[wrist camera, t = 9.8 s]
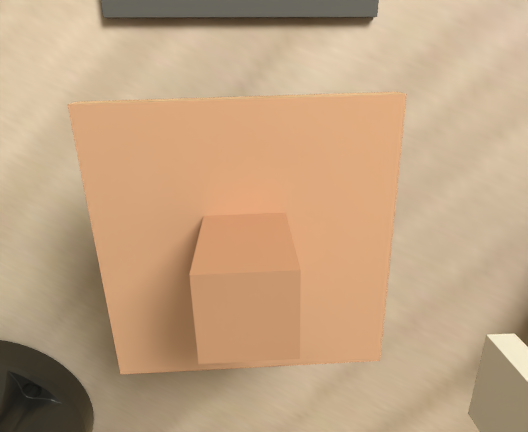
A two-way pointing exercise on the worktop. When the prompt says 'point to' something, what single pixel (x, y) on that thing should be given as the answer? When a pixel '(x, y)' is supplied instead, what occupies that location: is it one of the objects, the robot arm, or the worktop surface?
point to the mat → (238, 8)
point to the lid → (242, 226)
